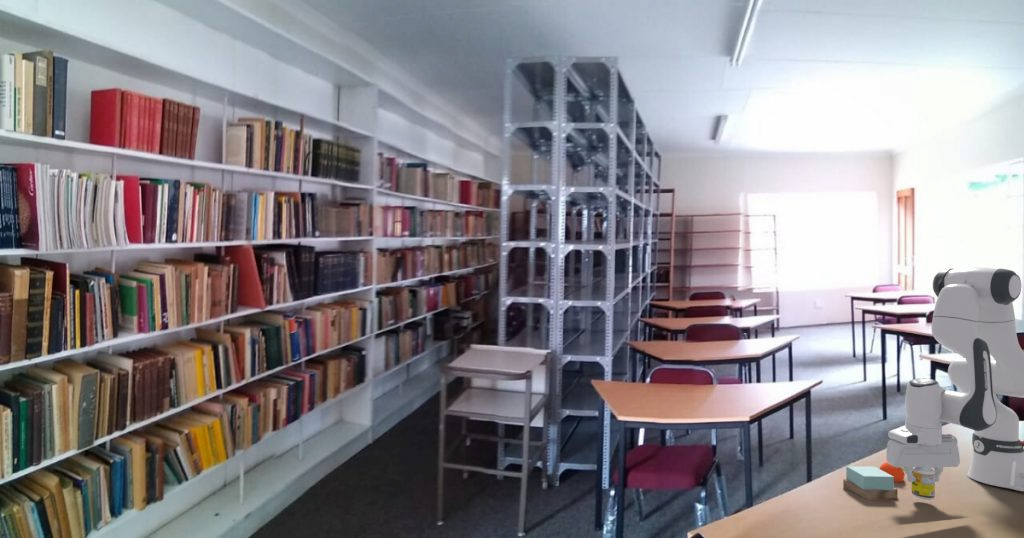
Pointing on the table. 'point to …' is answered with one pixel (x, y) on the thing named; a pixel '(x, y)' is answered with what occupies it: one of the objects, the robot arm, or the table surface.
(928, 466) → the supplement bottle
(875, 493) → the walnut block
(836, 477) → the table surface
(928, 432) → the robot arm
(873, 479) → the teal block
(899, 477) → the clementine
